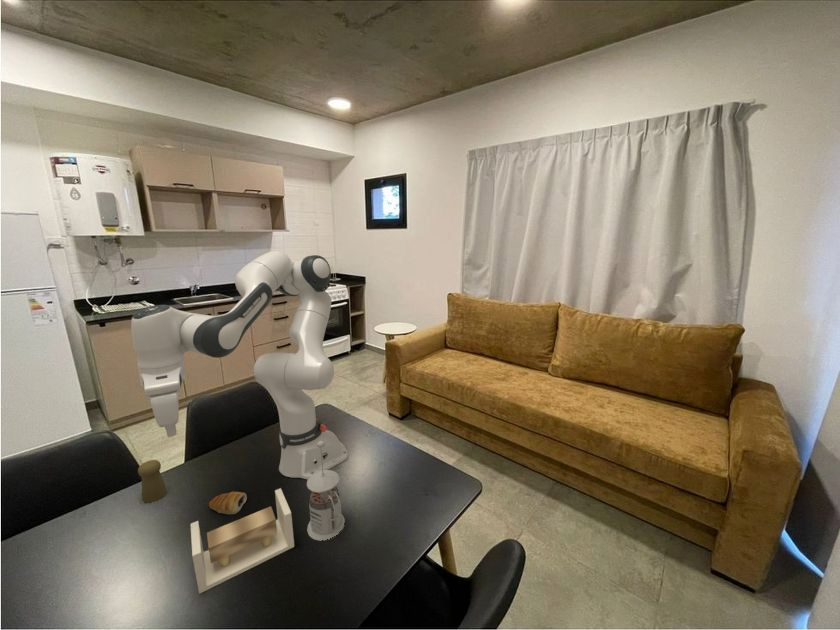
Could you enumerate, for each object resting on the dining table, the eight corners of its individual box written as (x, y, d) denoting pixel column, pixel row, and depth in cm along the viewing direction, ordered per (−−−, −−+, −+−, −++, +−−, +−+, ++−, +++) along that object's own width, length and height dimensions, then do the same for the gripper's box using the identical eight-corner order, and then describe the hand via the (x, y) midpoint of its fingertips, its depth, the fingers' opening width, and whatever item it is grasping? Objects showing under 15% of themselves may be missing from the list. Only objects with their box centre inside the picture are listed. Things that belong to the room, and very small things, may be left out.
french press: (333, 504, 98) (328, 426, 92) (356, 529, 90) (352, 444, 84) (300, 524, 91) (293, 441, 85) (322, 552, 83) (315, 462, 77)
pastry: (203, 515, 94) (201, 503, 93) (218, 497, 101) (217, 485, 100) (236, 516, 94) (235, 504, 93) (249, 498, 100) (248, 487, 99)
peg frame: (283, 519, 92) (280, 488, 90) (294, 546, 84) (291, 512, 82) (196, 558, 81) (190, 523, 79) (199, 593, 73) (192, 556, 71)
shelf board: (272, 519, 88) (271, 506, 87) (277, 532, 84) (275, 519, 83) (209, 546, 80) (206, 532, 79) (210, 563, 76) (208, 548, 75)
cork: (153, 505, 97) (147, 471, 95) (136, 501, 98) (129, 468, 96) (172, 490, 103) (166, 458, 100) (156, 487, 104) (149, 455, 102)
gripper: (149, 363, 88) (158, 412, 91) (143, 392, 71) (154, 450, 74) (178, 358, 91) (186, 405, 94) (179, 385, 75) (189, 441, 78)
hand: (172, 426), depth 84 cm, fingers open, 8 cm apart
